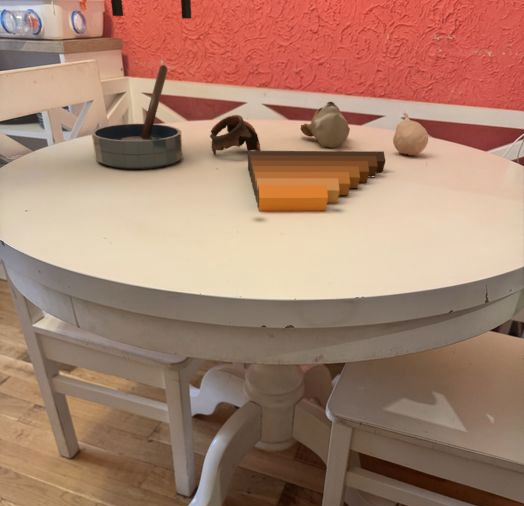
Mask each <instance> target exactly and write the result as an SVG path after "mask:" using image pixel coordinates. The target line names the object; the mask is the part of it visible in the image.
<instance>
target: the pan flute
mask: <svg viewBox="0 0 524 506" xmlns="http://www.w3.org/2000/svg"><path fill="white" fill-rule="evenodd" d="M385 165H386V157H385V151H383V150H382V151H381V150H380V151H379V150H377V151H376V150H375V151H370V150H369V151H366V150H365V151H363V150H360V151H359V150H357V151H356V150H353V151H352V150H351V151H350V150H349V151H348V150H346V151H345V150H261V151H256V150H250V151H247V170H248V172H249V173H248V175H249V177H250V183H251V185H252V189H253V194H254V197H255V202H256V204H257V205H256V206H257V210H258V211H259V212H264V211H265V212H266V211H267V212H269V211H271V212H272V211H273V212H274V211H275V212H276V211H277V212H279V211H284V212H285V211H291V212H293V211H297V212H298V211H299V212H300V211H302V212H303V211H304V212H305V211H327V206H328V204H337V203H338V200H339V195H348V196H349V192H350V189H349V188H359V184H360V183H359V182H366V183H367V182H368V178H369V177H368V176H375V177H376V174H377V172H376V171H383V172H384V168H385Z"/></svg>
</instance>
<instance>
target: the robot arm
mask: <svg viewBox="0 0 524 506" xmlns="http://www.w3.org/2000/svg"><path fill="white" fill-rule="evenodd" d="M191 1H192V0H180V5H181V6H180V7H181V8H180V9H181V19H182V20H183V19H188V20H189V19H192V3H191ZM110 4H111V12H112V16H113V17H124V7H123V0H110Z"/></svg>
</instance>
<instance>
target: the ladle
mask: <svg viewBox="0 0 524 506" xmlns="http://www.w3.org/2000/svg"><path fill="white" fill-rule="evenodd" d="M157 71H158V72H157V75H156V79H155V83H154V86H153V90H152V94H151V97H150V101H149V105H148V109H147V111H146V112H147V113H146V115H145V120H144V123H143V124H144V127H143V130H142V134H141V136H133V137H126V138H123V139H121V140H124V141H142V140H155V138H152V137H150V134H151V130H152V127H153V124H155V118H156V116H157V112H158V108H159V104H160V100H161V97H162V93H163V89H164V85H165V81H166V79H167V74H168V67H167V66H166V65H164V64H162V65H160V66H159V68H158V70H157Z"/></svg>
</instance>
